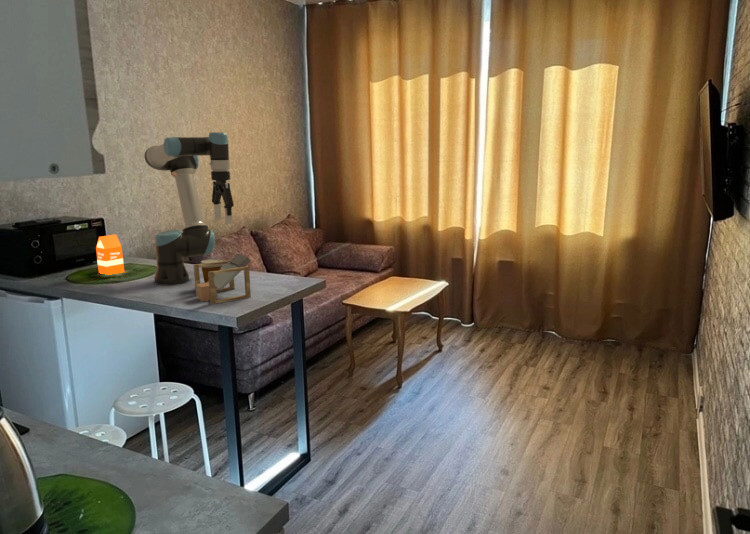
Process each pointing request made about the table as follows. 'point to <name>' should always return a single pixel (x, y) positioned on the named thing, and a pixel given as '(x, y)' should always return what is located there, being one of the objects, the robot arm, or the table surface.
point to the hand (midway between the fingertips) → (223, 221)
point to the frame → (231, 283)
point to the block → (204, 291)
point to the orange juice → (109, 255)
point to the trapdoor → (225, 278)
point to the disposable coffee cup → (209, 268)
